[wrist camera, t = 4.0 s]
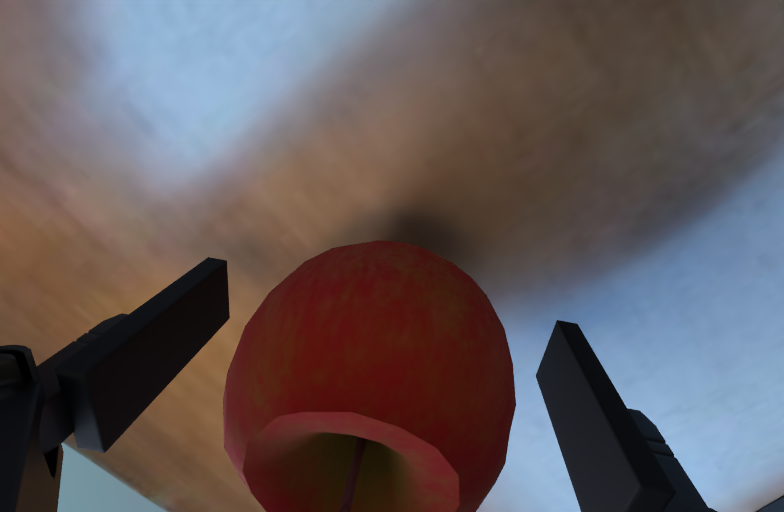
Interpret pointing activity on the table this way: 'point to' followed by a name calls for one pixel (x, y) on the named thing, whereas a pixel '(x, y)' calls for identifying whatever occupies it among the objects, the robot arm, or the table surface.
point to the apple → (371, 387)
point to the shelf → (775, 506)
